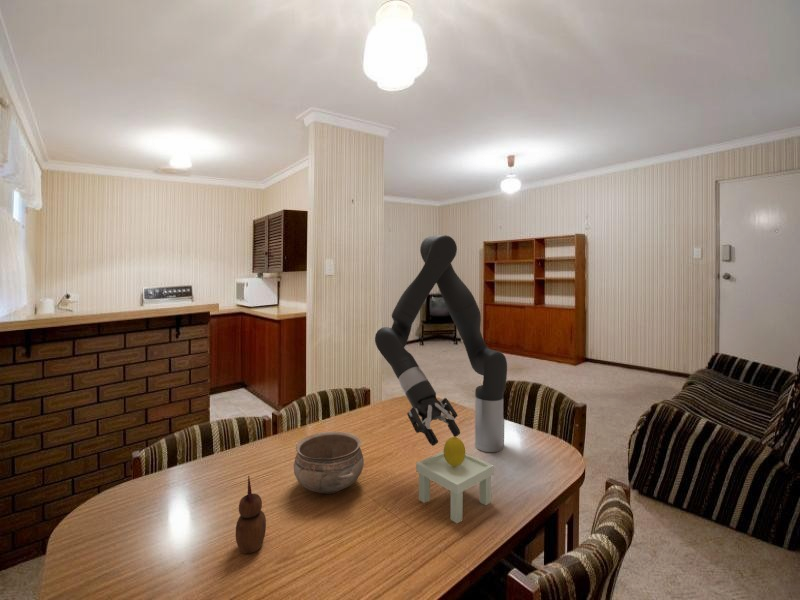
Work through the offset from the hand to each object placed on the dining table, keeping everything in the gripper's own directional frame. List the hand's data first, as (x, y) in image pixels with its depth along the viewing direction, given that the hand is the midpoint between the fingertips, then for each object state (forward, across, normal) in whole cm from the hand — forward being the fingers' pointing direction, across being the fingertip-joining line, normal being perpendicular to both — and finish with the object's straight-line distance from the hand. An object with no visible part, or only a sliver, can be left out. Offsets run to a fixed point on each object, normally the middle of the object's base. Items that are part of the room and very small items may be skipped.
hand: (447, 439), depth 103 cm
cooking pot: (-6, -21, +28) cm, 36 cm away
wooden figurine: (+1, -46, +22) cm, 51 cm away
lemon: (+6, 0, +3) cm, 7 cm away
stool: (+13, 0, +9) cm, 16 cm away
